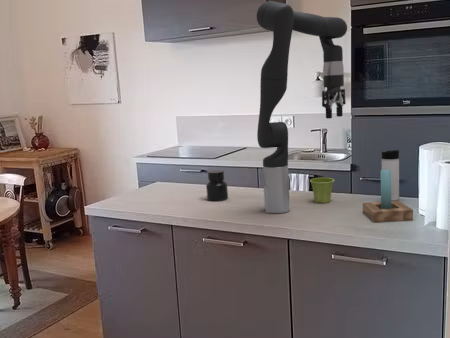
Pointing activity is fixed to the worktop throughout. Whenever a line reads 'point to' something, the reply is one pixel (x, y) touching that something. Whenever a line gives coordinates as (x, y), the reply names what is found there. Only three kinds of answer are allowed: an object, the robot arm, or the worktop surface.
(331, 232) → the worktop surface
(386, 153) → the travel mug
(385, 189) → the dowel
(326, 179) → the plant pot
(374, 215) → the socket block
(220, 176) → the ink bottle
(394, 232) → the worktop surface
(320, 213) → the worktop surface
